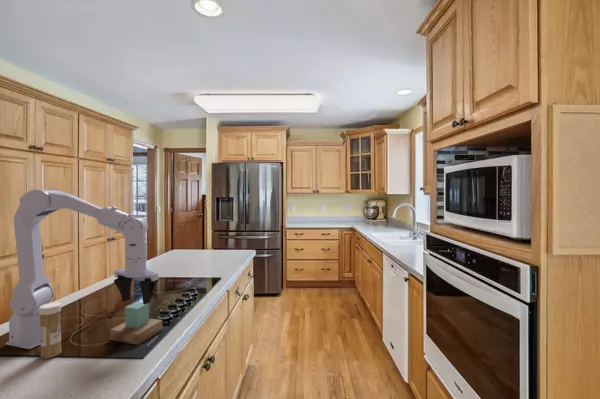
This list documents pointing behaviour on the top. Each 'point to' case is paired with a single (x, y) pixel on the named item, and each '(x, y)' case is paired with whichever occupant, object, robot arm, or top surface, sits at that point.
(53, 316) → the sprinkles bottle
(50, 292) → the robot arm
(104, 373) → the top surface
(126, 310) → the teal block
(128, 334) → the walnut base
